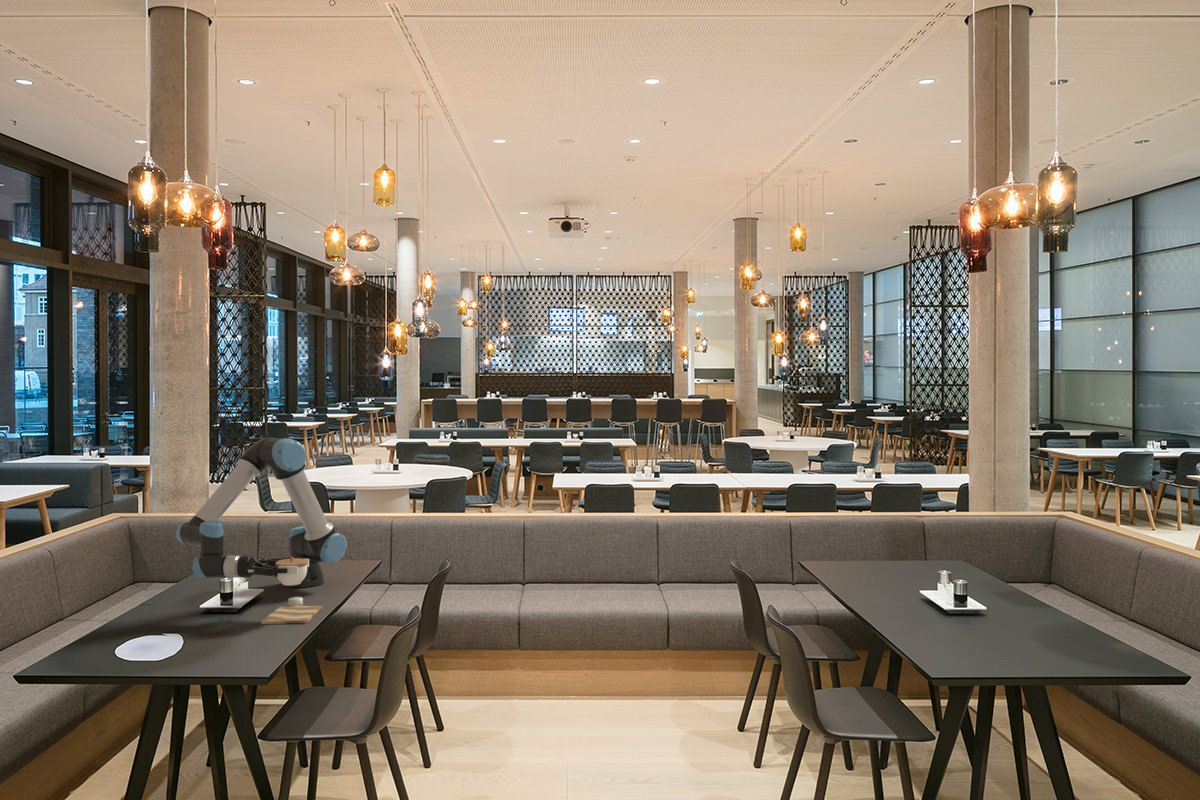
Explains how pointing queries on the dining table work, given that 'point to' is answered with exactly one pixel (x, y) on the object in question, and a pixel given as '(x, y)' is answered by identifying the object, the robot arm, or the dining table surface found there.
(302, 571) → the lidded jar
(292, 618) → the wooden cutting board
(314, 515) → the robot arm
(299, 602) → the sage dish
